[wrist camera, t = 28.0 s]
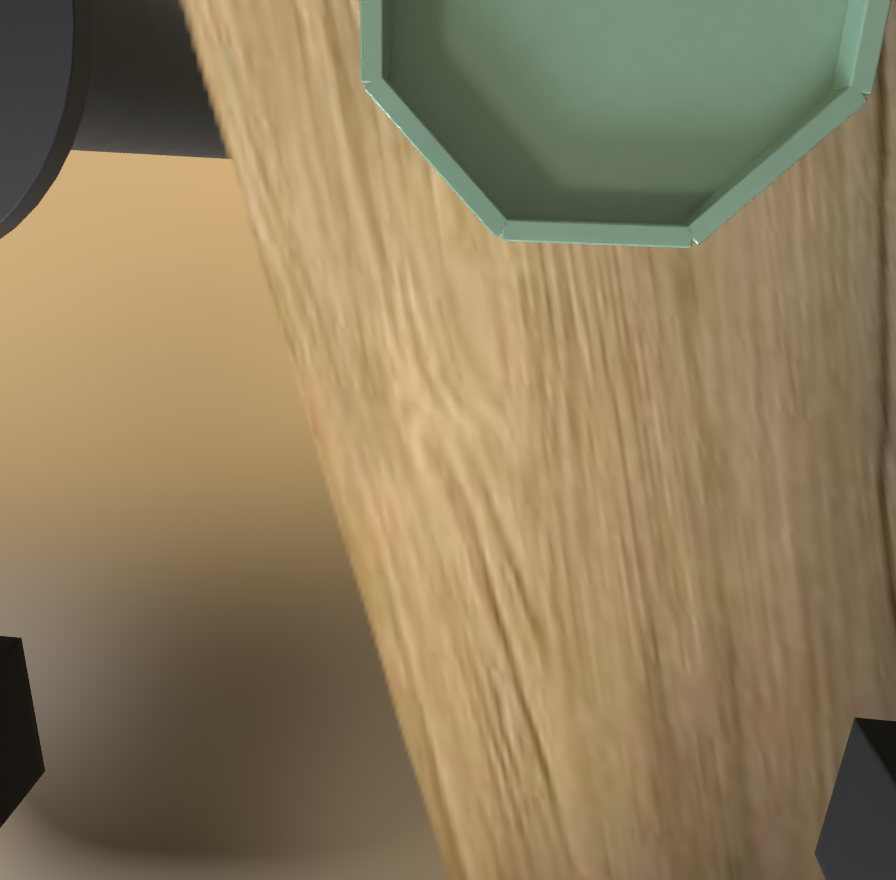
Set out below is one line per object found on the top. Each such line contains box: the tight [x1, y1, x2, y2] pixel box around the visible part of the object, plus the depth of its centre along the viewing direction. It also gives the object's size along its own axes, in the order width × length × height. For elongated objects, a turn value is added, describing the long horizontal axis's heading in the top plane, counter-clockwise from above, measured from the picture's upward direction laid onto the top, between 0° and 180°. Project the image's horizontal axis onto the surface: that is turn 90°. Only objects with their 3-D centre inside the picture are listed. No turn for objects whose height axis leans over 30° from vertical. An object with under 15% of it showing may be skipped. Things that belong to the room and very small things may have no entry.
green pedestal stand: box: [360, 0, 891, 248], centre depth 24 cm, size 13×13×13 cm
